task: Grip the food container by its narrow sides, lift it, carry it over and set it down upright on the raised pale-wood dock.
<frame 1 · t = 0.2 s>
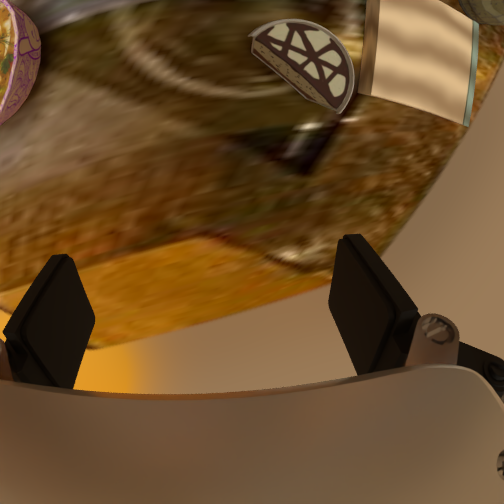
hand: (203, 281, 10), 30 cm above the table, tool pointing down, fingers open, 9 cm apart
food container: (294, 59, 32), on the table
dock: (417, 51, 31), on the table
bowl of food: (12, 67, 25), on the table
thermos: (472, 2, 25), on the table
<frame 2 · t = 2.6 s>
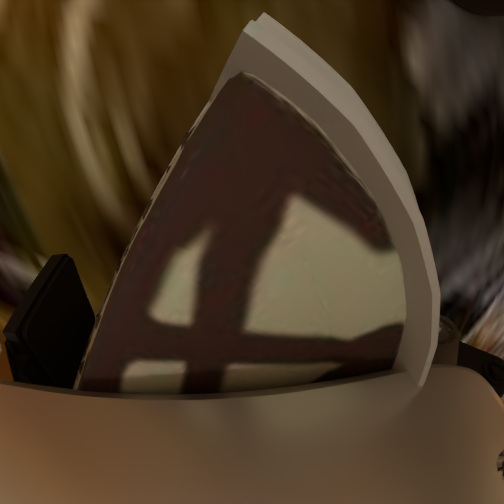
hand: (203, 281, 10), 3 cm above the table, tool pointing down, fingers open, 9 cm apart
food container: (215, 226, 13), on the table, touching gripper
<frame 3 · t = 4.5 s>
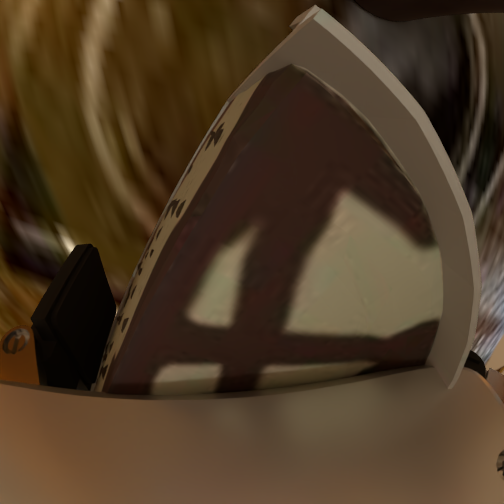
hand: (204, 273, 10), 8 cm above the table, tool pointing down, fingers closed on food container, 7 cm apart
food container: (235, 227, 13), point 5 cm above the table, touching gripper
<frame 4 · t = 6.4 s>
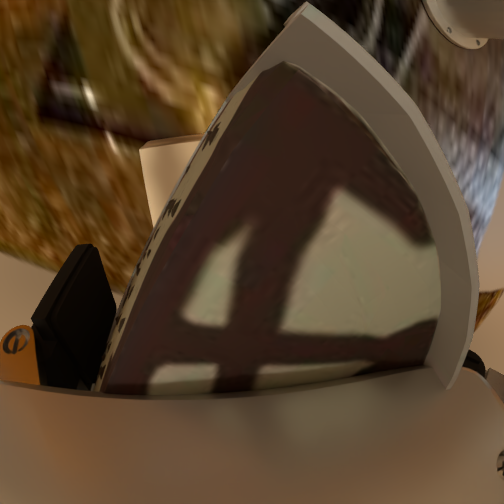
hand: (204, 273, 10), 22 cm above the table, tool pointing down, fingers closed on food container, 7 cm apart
food container: (233, 227, 13), point 19 cm above the table, touching gripper
dock: (242, 211, 33), on the table
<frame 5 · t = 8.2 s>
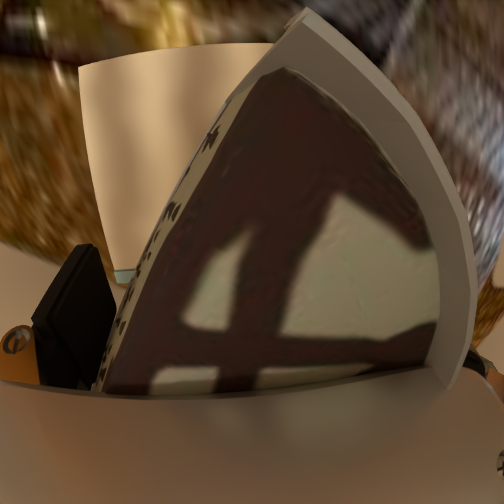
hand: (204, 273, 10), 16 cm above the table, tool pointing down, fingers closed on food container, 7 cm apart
food container: (233, 229, 13), point 13 cm above the table, touching gripper
dock: (212, 157, 24), on the table
when the fingers open (8 cm above the table, at t = 10.1 s): food container stays where it is, resting on dock.
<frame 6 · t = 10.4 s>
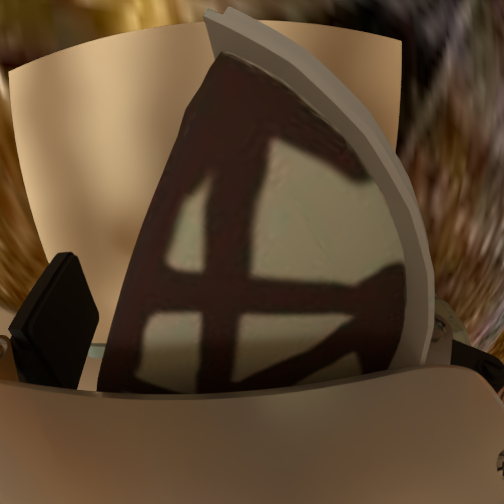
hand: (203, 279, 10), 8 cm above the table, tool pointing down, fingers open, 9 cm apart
food container: (245, 226, 14), point 4 cm above the table, touching dock
dock: (207, 194, 17), on the table
thermos: (396, 316, 25), on the table
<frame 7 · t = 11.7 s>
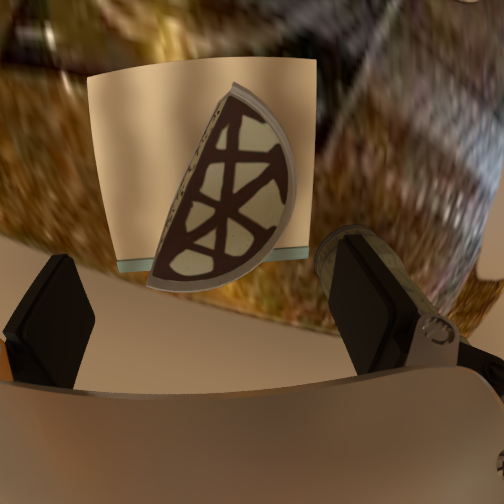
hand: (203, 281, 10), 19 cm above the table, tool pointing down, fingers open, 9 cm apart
food container: (227, 169, 24), point 4 cm above the table, touching dock
dock: (205, 158, 27), on the table
thermos: (348, 257, 35), on the table
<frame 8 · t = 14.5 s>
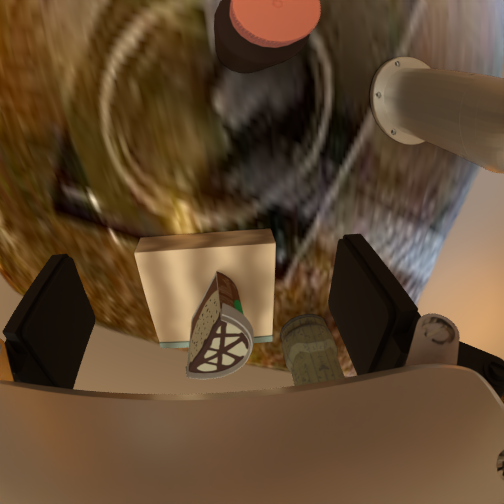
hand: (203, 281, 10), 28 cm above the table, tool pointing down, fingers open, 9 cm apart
food container: (223, 302, 42), point 4 cm above the table, touching dock
bottle: (245, 47, 29), on the table
dock: (210, 285, 45), on the table
thermos: (303, 330, 53), on the table
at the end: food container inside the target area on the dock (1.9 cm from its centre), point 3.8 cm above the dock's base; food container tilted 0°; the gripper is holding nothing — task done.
